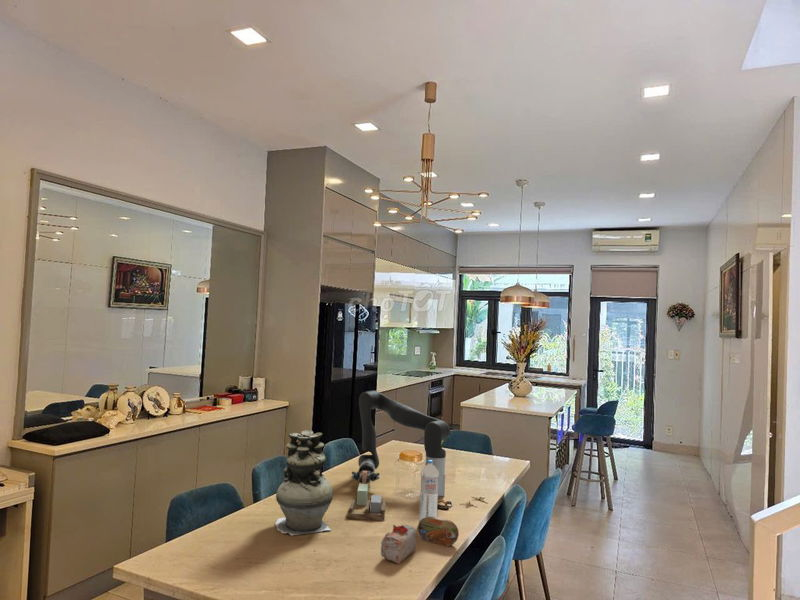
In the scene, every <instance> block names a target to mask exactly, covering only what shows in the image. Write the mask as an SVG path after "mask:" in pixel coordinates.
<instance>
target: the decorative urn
mask: <svg viewBox="0 0 800 600" xmlns="http://www.w3.org/2000/svg"><path fill="white" fill-rule="evenodd" d="M322 436H323V433H322V432H316V433H314V431H313V430H312V429H311V430H310V429H308V430H307V429H306V430H302V431H301V432H300V433H297V432H289V433H288V437H289V438H290V439H291V440H290V442H288V443H287V444H286V446H285V447H286V448H287V449H288V452H287V457H286V460H285V461H286V462H285V463H286V467H285V468H284V469H283V477H284V479H283V482H282V483H281V484H280V485H279V487H278V489H277V490H276V495H275V499H276V502H277V504H278V505H279V506H280V509H281V510H280V511H282V513H283V515H284V517H280V518H277V519H276V520H275V522H274V523H275V526H276V529H277V531H278V532H280V533H281V534H289V535H290V536H299V535H300V536H301V535H307V534H313V533H320V532H323V531H331V528H330V527H329V526H328V524H327V523H326V522H325V521H324V520H323V517H324V516H325V514H326V513H327V511H328V509H329V508H330V505H331V503H332V502H333V496H334V491H333V487H332V484H331V483H330V481H329V480H328V479H327V478H326V477H325V474H324V473H323V470H322V467H324V465H325V463H326V460H327V458H326V456H325V454H324V452H323V448H324V447H325V443H323V442H321V441H320V439H321V437H322Z"/></svg>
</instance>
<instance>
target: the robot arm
mask: <svg viewBox="0 0 800 600" xmlns="http://www.w3.org/2000/svg"><path fill="white" fill-rule="evenodd" d="M359 395H360V396H359V398H358V407H359V414H360V415H359V416H360V422H361V433H362V434H361V435H362V436H361V439H362V440H361V442H362V443H361V446H362V448H361V449H362V450H363V451H365V452H369V453H370V454H361V455H360V456H359V457H358V460H357V461H358V471H357V472H356V471H351V478H352V479H353V480H355V481H358V482H359V484H362V474H363V471H367V478H366V483H367V484H369V483H370V482H375V481H377V480H380V472H376V473H375V470H377V469H378V468H379V466H380V459H379V455H378V451H377V432H376V428H375V426H374V425H373V422H372V417H371V415H372V414H371V413H372V410H376V409H378V410H380V411H383V412H385V413H387V414H388V416H389V417H390V419H392V420H393V421H394V422H396V423H398V424H400V425H402V426H404V427H408V428H412V429H417V430H418V429H419V430H422V431H424V433H423V435H424V438H423V441H424V444H423V445H424V447H423V448H424V451H425V463H424V467H425V466H426V465H427V464H428V460H432V461H433V463H432V464H433V465H434V466H435V467H436V468H437V470H438V472H439V476H438V498H440V497H445V493H446V460H447V459H446V456H447V455H446V454H447V452H446V450H445V449H444V448H443V446H442V443H443V442H442V441H444V440H446V439H448V438H449V436H450V435H451V427H450V426H449V424H448V423H447V422H446V421H444V420H442V419H439V418H435V417H432V416H429V415H427V414H425V413H422V412H421V411H419V410H416V409H415V408H412V407H410V406H408V405H406V404H403V403H402V402H398V401H397V400H394V399H393V398H390V397H389V396H387V395H385V394H383V393H382V392H380V391H378V390H367V391H364V392H362V393H361V394H359Z"/></svg>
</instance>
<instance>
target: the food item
mask: <svg viewBox="0 0 800 600" xmlns="http://www.w3.org/2000/svg"><path fill="white" fill-rule="evenodd" d="M392 527H393V528H392V532H390V531H388V532H387V533H385V535H384V537H383V538H382V540H381V543H380V544H381V546H380V555H381V557H382V558H384V559H386V560H387V561H389V562H392V563H395V564H398V565H400V564H401V563H402V562H403V561H404V560H406V558H407V557H408V556H410V555H411V554H412V553H413V552H414V551H416V549H417V530H416V528H415V527H413V526H411V525H409V524H401V525H398V526H397V525H396V524H393V526H392Z"/></svg>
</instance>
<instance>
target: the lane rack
mask: <svg viewBox="0 0 800 600" xmlns="http://www.w3.org/2000/svg"><path fill="white" fill-rule="evenodd" d="M355 504H356V499H352V498H351V502H350V505H349V511H348V519H349V518H352V519H353V520H368V519H376V520H375V521H385V515H386V500H382V502H381V513H380V514H374V513H370V508H371V499H367V504H366V505H365V512H354V511H355V506H356V505H355Z"/></svg>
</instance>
